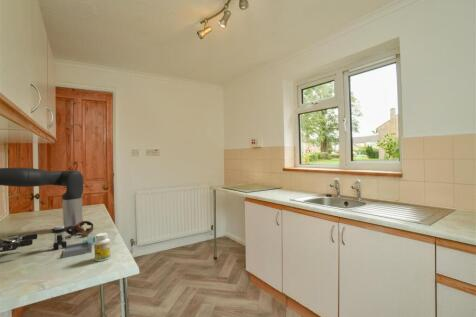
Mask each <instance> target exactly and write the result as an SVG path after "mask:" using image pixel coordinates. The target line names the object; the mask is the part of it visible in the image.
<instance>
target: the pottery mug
mask: <svg viewBox="0 0 476 317" xmlns="http://www.w3.org/2000/svg"><path fill="white" fill-rule="evenodd" d="M82 225H83V226H84V225H87V226H90V227H89V228H84V227H81V226H82ZM69 229H71V231H69ZM93 230H94V224H93V223H92V222H91V221H88V220H83V221H80V222H79V223H78V224H77V225H75V226H68V227H67V228H66V231H65V232H66V234H68V235H71V236H72V237H74V236H75V235H76V234H81V236H80V237H82V238H86V236H87V235H90V233H92V232H93Z"/></svg>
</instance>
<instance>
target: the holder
mask: <svg viewBox="0 0 476 317" xmlns="http://www.w3.org/2000/svg"><path fill="white" fill-rule="evenodd" d="M88 237H89V243H88V242H83V241H82V242H76V243H71V244H67V245H66V248H64V250H63V253H62V257H61V258H62V259H64V258H69V257H74V256H79V255H84V254H90V253H92V252H93V245H92V239H93V236H88Z"/></svg>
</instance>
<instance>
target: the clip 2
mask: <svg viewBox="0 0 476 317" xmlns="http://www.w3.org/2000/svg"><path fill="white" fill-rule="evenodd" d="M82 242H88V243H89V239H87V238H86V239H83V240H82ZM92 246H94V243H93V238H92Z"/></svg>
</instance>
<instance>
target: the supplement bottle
mask: <svg viewBox="0 0 476 317" xmlns="http://www.w3.org/2000/svg"><path fill="white" fill-rule="evenodd" d="M108 237H109V236H108V233H107V232H101V233H97V234H95V242H94V243H93V246H94V260H95V261H96V262H104V261H107V260H109V259H111V239H110V238H108Z"/></svg>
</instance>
